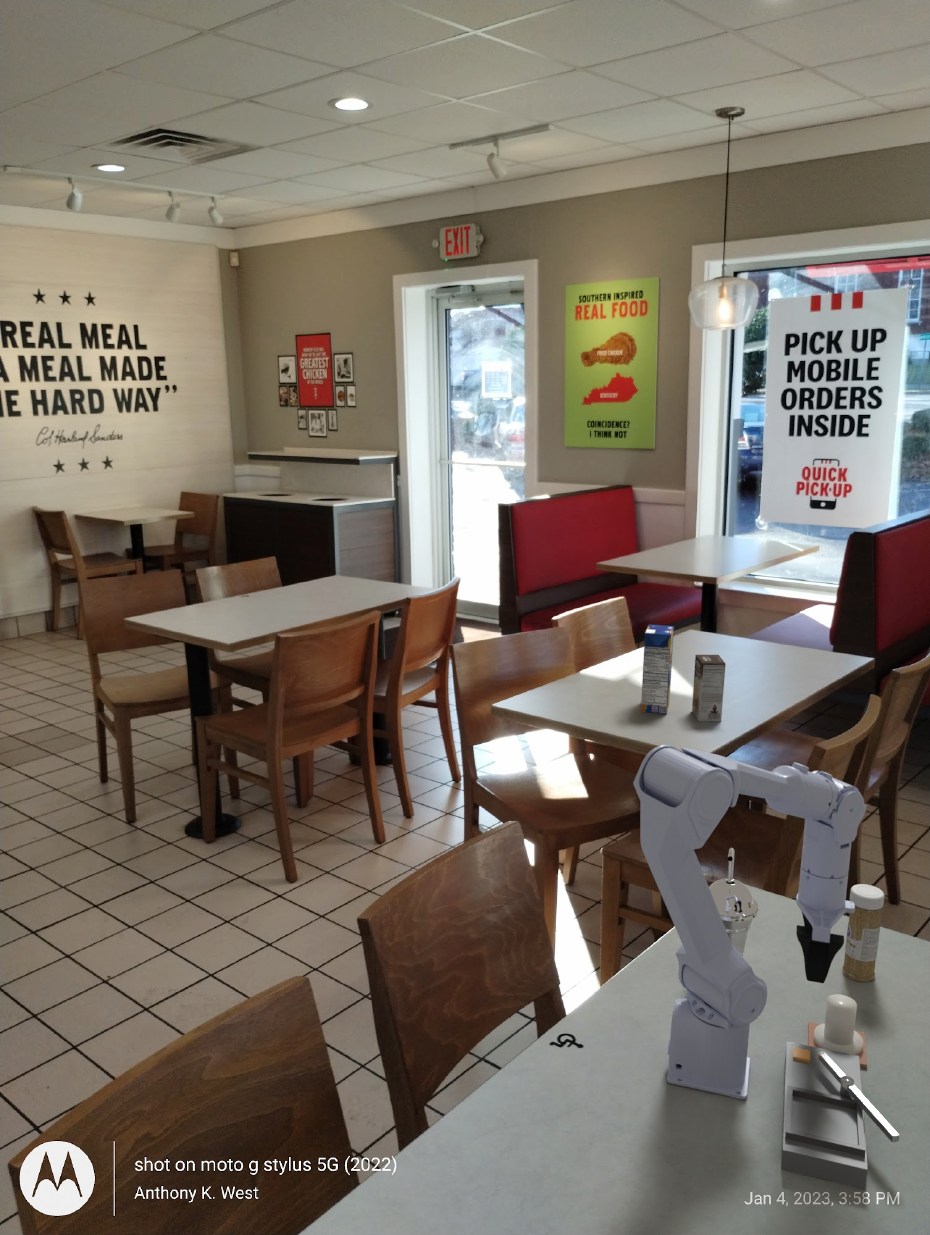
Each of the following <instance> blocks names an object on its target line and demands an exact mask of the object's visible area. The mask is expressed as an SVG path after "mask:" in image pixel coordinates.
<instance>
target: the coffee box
mask: <svg viewBox="0 0 930 1235" xmlns="http://www.w3.org/2000/svg"><path fill="white" fill-rule="evenodd" d="M694 658H695V659H694V671H693V674H694V676H693V690H692V703H691V704H692V705H691V706H692V707H691V710H692V713H693V714H694V716H695V718H696V720H697V722H722V716H723V702H724V700H723V699H724V690H725V678H726V677H725V675H726V662H725V661H724V660H723V659H722V657H721V656H720V654H695V657H694Z"/></svg>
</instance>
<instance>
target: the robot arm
mask: <svg viewBox="0 0 930 1235" xmlns="http://www.w3.org/2000/svg"><path fill="white" fill-rule="evenodd" d="M680 749H681V751H679V749H678V748H676V747H674V746H672V745H670V744H660V745H658V746H656V747H654V748H653V749H651V750H650V751H648V753H647V754H646V755H645V757H644V758H643V760H642V761H641V763H640V766H639V769H638V771H637V773H636V775H635V778H634V780H633V783H632V784H633V788H635V791H636V794H637V796H638V798H639V801H640V809H639V810H640V811H639V812H640V813H639V814H640V817H639V818H640V820H639V821H640V823H639V824H640V825H639V826H640V836H639V837H640V846H641V850H642V853H643V855H644V857H645V860H646V862H647V865H648V867H649V869H650V872H651V873H652V876H653V879H654V881H655V883H656V885H657V887H658V890H659V892H660V894H661V897H662V900H663V903H664V904H665V906H666V909H667V911H668V914H669V916H670V919H671V920H672V923H673V925H674V928H675V930H676V932H677V934H678V937H679V939H680V941H681V945H680V946H679V948H678V949H677V951H676V952H675V955H676V959H677V961H678V980H679V983H680V984H681V986H682V987H683V988H684V989H685V990H686V998H675V1000H674V1004H673V1010H672V1015H671V1024H670V1025H671V1026H670V1037H669V1038H670V1039H669V1040H668V1041H669V1042H668V1048H667V1055H668V1068H667V1070H668V1071H667V1077H666V1082H668V1083H669V1084H673V1085H677V1086H682V1087H685V1088H686V1087H687V1088H690V1089H691V1088H692V1089H696V1090H699V1091H700V1090H701V1091H704V1092H709V1093H713V1094H718V1095H722V1096H727V1097H732V1098H737V1099H741V1100H746V1099H748V1090H749V1081H750V1080H749V1079H750V1078H749V1077H750V1070H751V1069H750V1067H751V1066H750V1065H751V1058H750V1057H749V1056H748V1048H749V1038H750V1024H752V1023H753V1022H755V1021H756V1020H757V1019H758V1018H759V1017H760V1016H761V1014H762V1013H763V1012H764V1009H765V1006H766V1004H767V998H768V986H767V984H766V982H765V980H763V979H762V978H760V977H759V976H758V975H757V974H755V973H754V970H753V967H752V966H751V965H750V963H749V962H748V961H747V960H746V959H745V958H744V956H743V957H742V956H741V954H740V953H739V952H738V951H737V950H736V949H735V948H734V947H733V945H732V944H731V941H730V939H729V936H728V934H727V931H726V929H725V926H724V924H723V921H722V919H721V916H720V914H719V911H718V909H717V906H716V904H715V901H714V899H713V896H712V894H711V891H710V889H709V887H710V885H709V884H708V881H707V878H706V876H705V874H704V872H703V869H702V866H701V863H700V861H699V860H698V856H697V854H696V852H695V850H698V849H701V848H702V847H704V845H706V844H705V843H706V842H707V840H708V839H709V838H710V837H711V835H712V833H713V832H714V830H715V829H716V828H717V826H718V825H719V823H720V822H721V820H722V818H723V817H724V816H725V814H726V813H727V812H728V809H729V807H730V808H734V807H736V805H737V801H738V799H739V794H740V795H745V796H750V797H755V798H761V799H765V802H766V804H767V805H768V807H769V808H770V809H772V810H773V811H775V812H777V813H781V814H785V815H788V816H792V817H793V816H794V817H797V818H800V819H801V818H802V819H804V828H803V839H802V840H803V841H802V850H801V863H800V870H799V871H800V872H799V884H798V892H797V894H796V898H795V903H796V905H797V907H798V908H799V910H800V911H801V914H802V918H803V919H802V920H803V925H798V924H797V925H796V932H795V933H796V934H795V935H796V938H797V941H798V942H799V945H800V946H801V950H802V954H803V960H804V961H803V962H804V971H805V978H806V980H807V981H808V982H813V983H819V984H824V983H825V982H826V980H827V977H828V974H829V971H830V968H831V965H832V962H833V960H834V959H835V956H836V955H837V954H838V952H839V951H840V950H841V949H842V948H843V946H844V945H845V936H844V935H842V934H837V933H831V930H832V928H833V927H834V926H835V925H836V924H837V923H838V921H839V920H840V919H841V918H842V917H843V916H844V915H845V914H846V913H847V914H850V913H854V912H855V904H854V902H852V901H850V900H846V899H847V891H848V890H847V888H848V881H849V871H850V862H851V861H850V860H851V849H852V842H854V841H855V840H856V837H857V835H858V830H859V829H858V828H859V826H860V824H861V822H862V820H863V819H864V817H865V815H866V814H865V813H866V811H867V804H865V799H864V797H863V795H862V794H861V792H860V791H859V789H858V787H857V786H854V785H852V784H850V783H847V782H845V781H842V780H839V779H838V778H836V777H835V778H834V777H833V775H832V774H830V773H828V772H825V771H822V770H821V771H819V770H813V771H809V770H810V767H808V766H806V765H803V764H801V763H798V762H793V763H792V765H791V766H790V765H785V764H784V765H778V766H777V767H775V768H773V770H771V771H770V770H767V769H763V768H760V767H756V766H754V765H751V764H748V763H746V762H745V763H744V762H742V761H739V760H736V759H732V758H729V757H727V756H724V755H719V754H715V753H711V752H707V751H702V750H699V749H698V750H697V749H694V748H690V747H681V748H680Z"/></svg>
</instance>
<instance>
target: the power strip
mask: <svg viewBox="0 0 930 1235" xmlns="http://www.w3.org/2000/svg"><path fill="white" fill-rule="evenodd" d="M818 1052H825V1053H826V1054H827V1055H828V1056H829V1057H830V1059H831V1060H832V1061H833V1062H834V1063H835V1064H836V1065H837V1066H838V1067H839V1069H840V1070H841V1071H842V1072H843V1073H844V1074H845V1075H846V1076H849V1077H851V1078H853V1080H854V1085H855V1086H856V1087H857V1089H858V1090H859V1091H860V1092H861V1093H862V1094H863V1090H862V1089H863V1088H862V1078H861V1075H862V1074H861V1067H860V1062H859V1056H857V1055H852V1054H847V1053H842V1052H837V1051H832V1050H827V1049H822V1048H817V1047H812V1046H808V1045H806V1044H802V1043H801V1044H800V1043H797V1042H791V1041H786V1046H785V1056H784V1079H783V1105H782V1106H783V1107H782V1108H783V1110H782V1132H781V1133H782V1135H781V1158H780V1159H781V1162H780V1164H781V1165H780V1170H781V1171H785V1172H789V1173H794V1174H799V1175H801V1176H806V1177H809V1178H815V1179H818V1180H823V1181H825V1182H826V1181H828V1182H832V1183H836V1184H839V1185H840V1184H841V1185H844V1186H848V1187H851V1188H857V1189H861V1190H865V1191H866V1187H867V1179H868V1170H869V1169H868V1167H869V1166H868V1157H867V1142H866V1130H865V1117H864V1110H863V1109H862V1108H861V1107H860V1106H859V1104H858V1103H857V1102H856V1101H855V1100H854V1099H853V1098H851V1099H849V1098H845V1097H842V1096H841V1095H840V1086H841V1084H840V1083H839V1082H838V1081H837V1079H836V1078H835V1077H834V1076H833V1075H832V1074H831V1073H830V1072H829V1070H828V1069H827V1068H826V1067H825V1066H824V1065H823V1064H822V1062H821V1061H820V1060H819V1059H818Z"/></svg>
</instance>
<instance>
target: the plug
mask: <svg viewBox="0 0 930 1235" xmlns="http://www.w3.org/2000/svg"><path fill="white" fill-rule="evenodd" d="M857 1007H858V1004H857V1002H856V1001H855V1000H854V999H853V998H851V997H850V996H847V995H844V994H840V993H839V994H837V993H836V994H831V995H828V997H827V999H826V1007H825V1008H826V1009H825V1017H824V1018H825V1019H824V1023H823V1022H822V1023H819V1024H820V1025H818V1026H817V1027H816V1028H815V1030H814V1042H815V1044H816V1045H817V1046H818V1047H819V1048H822V1049H827V1050H832V1051H837V1052H842V1053H847V1054H852V1055H857V1056H858V1055H859V1054H860V1053H861V1052H862V1048H863V1039H862V1037H861V1036H860V1035H859V1034H858V1033H857V1032H856V1031H857V1030H855V1027H856V1018H857V1017H856V1016H857V1010H858V1008H857Z"/></svg>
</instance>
